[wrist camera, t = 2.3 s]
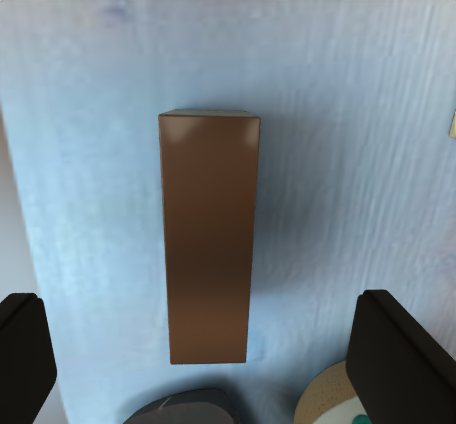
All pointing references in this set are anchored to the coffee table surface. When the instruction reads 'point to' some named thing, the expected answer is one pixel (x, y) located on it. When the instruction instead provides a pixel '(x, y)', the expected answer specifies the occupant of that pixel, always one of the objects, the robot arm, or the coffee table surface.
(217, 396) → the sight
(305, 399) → the vase
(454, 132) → the bar cream
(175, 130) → the bar walnut
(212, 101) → the coffee table surface
